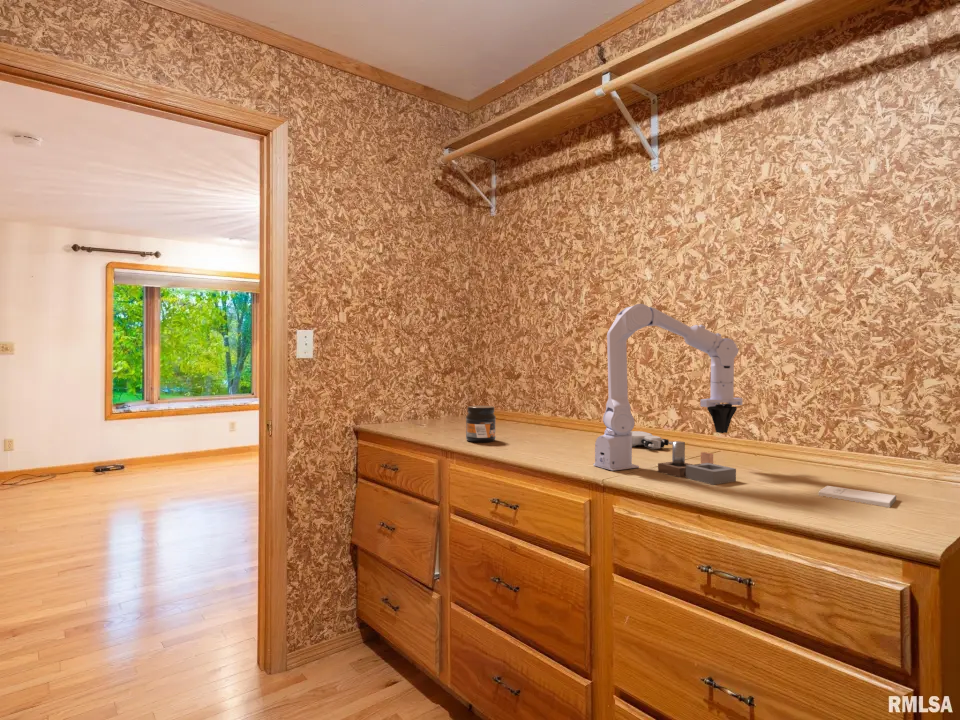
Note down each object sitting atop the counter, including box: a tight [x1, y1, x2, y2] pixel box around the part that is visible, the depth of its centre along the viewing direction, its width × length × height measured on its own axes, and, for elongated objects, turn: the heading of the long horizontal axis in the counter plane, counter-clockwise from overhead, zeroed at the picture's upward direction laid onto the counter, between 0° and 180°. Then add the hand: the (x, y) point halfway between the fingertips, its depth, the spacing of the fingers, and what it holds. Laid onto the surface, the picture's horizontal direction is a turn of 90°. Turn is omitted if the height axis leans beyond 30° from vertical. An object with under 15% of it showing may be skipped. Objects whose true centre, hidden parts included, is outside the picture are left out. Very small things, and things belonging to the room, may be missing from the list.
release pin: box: [700, 451, 714, 464], centre depth 140 cm, size 6×3×4 cm, turn 118°
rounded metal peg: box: [671, 440, 686, 467], centre depth 136 cm, size 3×3×8 cm
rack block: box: [685, 463, 737, 486], centre depth 130 cm, size 8×8×3 cm
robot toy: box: [631, 430, 673, 451], centre depth 176 cm, size 12×4×15 cm
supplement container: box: [465, 405, 497, 444], centre depth 187 cm, size 10×10×12 cm
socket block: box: [657, 461, 694, 478], centre depth 137 cm, size 7×7×2 cm
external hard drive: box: [817, 485, 897, 508], centre depth 114 cm, size 2×8×12 cm
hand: (721, 432), depth 144 cm, fingers closed
